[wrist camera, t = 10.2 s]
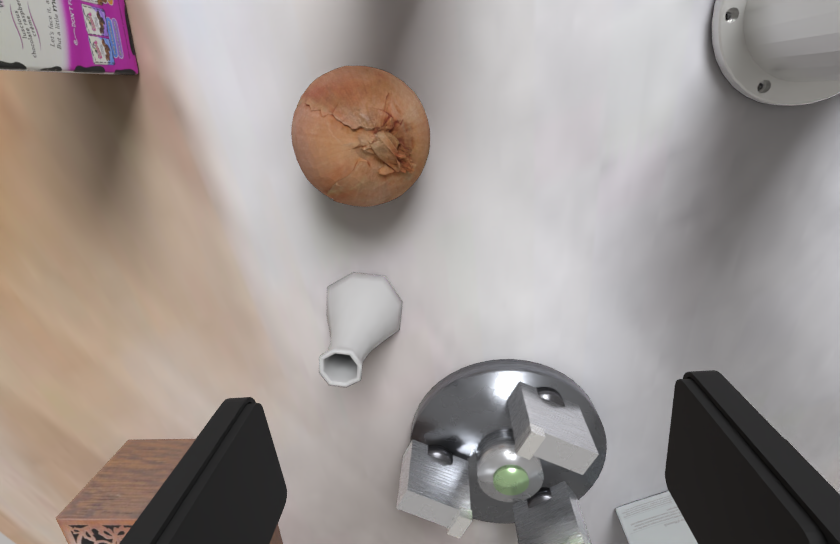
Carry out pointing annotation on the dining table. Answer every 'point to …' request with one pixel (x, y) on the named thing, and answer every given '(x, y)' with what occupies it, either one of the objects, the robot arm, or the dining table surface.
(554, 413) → the knob
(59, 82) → the dining table surface
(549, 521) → the knob
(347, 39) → the dining table surface
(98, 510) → the tissue box cover
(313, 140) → the onion
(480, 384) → the levelling plate
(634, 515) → the supplement box
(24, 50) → the candy bar box
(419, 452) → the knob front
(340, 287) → the flask
